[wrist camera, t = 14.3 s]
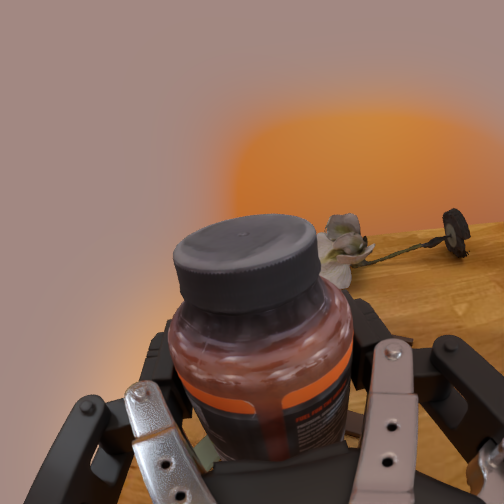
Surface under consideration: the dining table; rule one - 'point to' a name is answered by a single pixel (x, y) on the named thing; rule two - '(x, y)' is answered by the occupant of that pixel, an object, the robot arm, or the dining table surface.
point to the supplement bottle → (261, 338)
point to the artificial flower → (355, 247)
